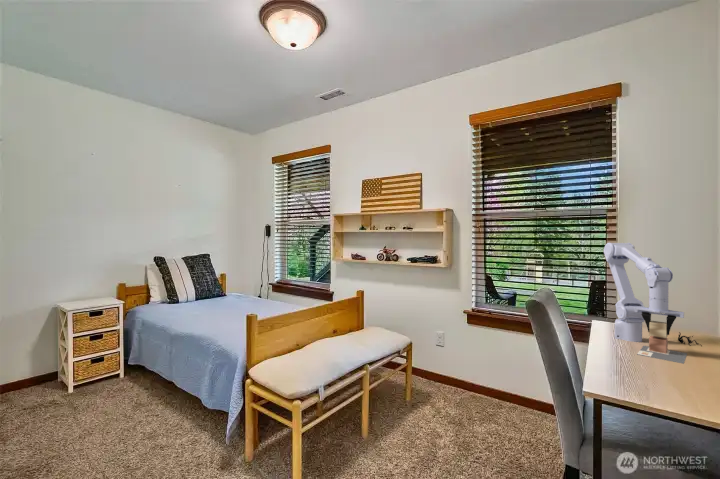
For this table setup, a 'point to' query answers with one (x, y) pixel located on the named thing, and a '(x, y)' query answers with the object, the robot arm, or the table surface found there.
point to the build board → (663, 355)
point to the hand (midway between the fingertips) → (658, 333)
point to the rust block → (658, 344)
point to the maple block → (658, 329)
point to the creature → (687, 339)
